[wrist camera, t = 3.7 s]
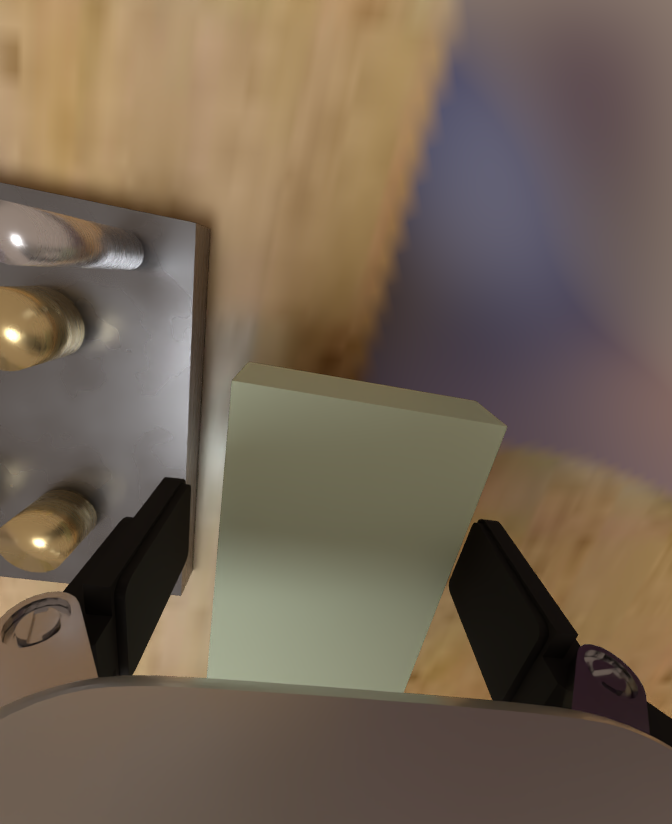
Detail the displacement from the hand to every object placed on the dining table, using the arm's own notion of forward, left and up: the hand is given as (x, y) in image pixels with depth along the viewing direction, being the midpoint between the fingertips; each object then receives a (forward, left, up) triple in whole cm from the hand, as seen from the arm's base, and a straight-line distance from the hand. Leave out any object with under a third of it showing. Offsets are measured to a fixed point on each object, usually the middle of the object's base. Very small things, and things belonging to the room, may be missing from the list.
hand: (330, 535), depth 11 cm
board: (0, 0, -1) cm, 1 cm away
